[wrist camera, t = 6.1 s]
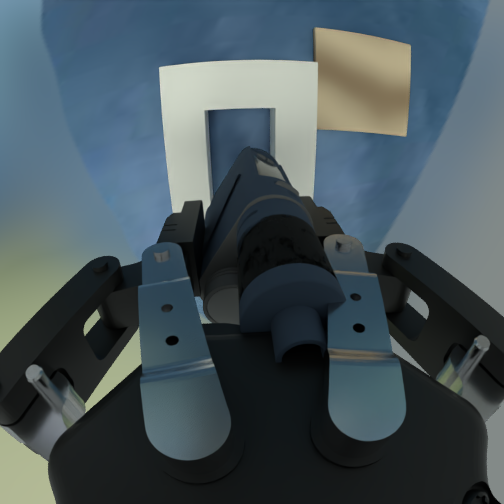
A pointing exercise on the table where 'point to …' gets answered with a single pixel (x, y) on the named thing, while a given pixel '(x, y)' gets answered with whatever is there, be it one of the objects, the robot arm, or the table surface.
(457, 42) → the table surface
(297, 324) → the vaping device
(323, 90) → the tan rectangular block
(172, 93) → the white cutout frame
